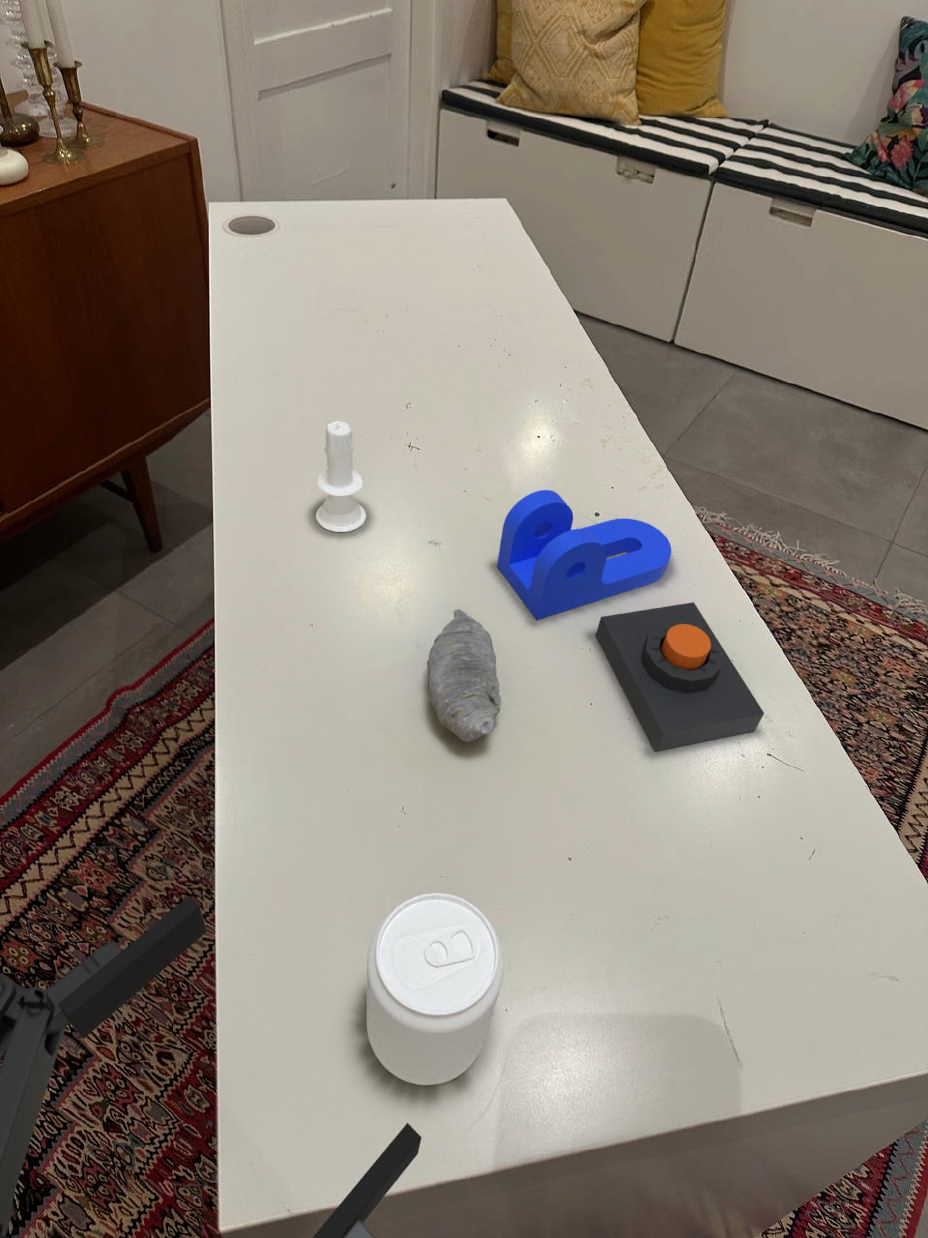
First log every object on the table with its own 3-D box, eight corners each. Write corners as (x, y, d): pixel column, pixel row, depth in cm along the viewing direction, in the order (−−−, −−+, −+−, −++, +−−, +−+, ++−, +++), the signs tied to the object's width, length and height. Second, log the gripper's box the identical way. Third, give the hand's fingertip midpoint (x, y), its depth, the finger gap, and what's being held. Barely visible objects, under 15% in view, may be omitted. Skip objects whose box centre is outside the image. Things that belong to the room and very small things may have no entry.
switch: (713, 666, 78) (718, 653, 77) (673, 673, 77) (678, 660, 76) (693, 633, 81) (698, 620, 79) (654, 640, 80) (659, 627, 78)
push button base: (754, 731, 78) (771, 700, 75) (654, 751, 76) (668, 721, 73) (686, 620, 87) (699, 589, 84) (595, 635, 85) (604, 603, 82)
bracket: (536, 620, 86) (550, 553, 79) (496, 566, 91) (507, 498, 84) (681, 573, 92) (706, 507, 86) (637, 525, 97) (657, 459, 91)
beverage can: (352, 985, 60) (350, 909, 51) (461, 948, 63) (476, 868, 54) (387, 1108, 55) (392, 1046, 46) (504, 1062, 58) (529, 995, 49)
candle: (348, 539, 91) (347, 444, 83) (306, 521, 93) (300, 426, 84) (375, 512, 95) (376, 418, 86) (333, 495, 96) (331, 401, 88)
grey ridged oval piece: (497, 611, 82) (491, 578, 75) (506, 753, 77) (500, 733, 70) (431, 616, 83) (418, 584, 75) (435, 757, 78) (421, 738, 70)
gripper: (-340, 1247, 33) (139, 873, 45) (16, 2007, 23) (510, 1268, 35) (-477, 1210, 28) (109, 796, 40) (-89, 2182, 18) (539, 1238, 30)
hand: (298, 1017), depth 37 cm, fingers open, 13 cm apart
